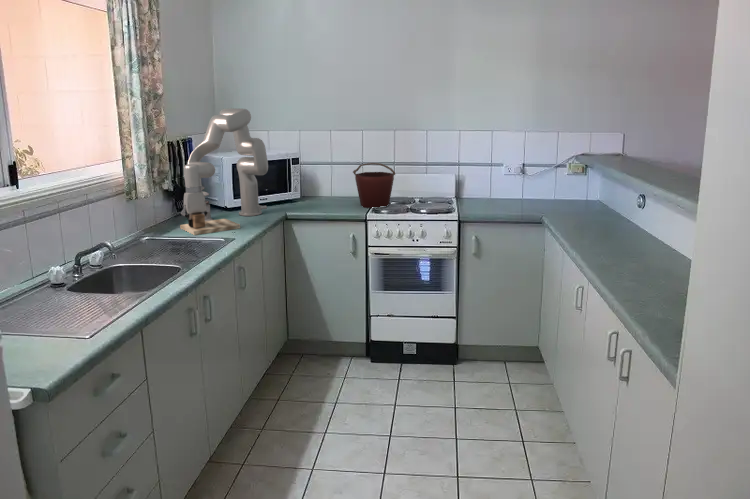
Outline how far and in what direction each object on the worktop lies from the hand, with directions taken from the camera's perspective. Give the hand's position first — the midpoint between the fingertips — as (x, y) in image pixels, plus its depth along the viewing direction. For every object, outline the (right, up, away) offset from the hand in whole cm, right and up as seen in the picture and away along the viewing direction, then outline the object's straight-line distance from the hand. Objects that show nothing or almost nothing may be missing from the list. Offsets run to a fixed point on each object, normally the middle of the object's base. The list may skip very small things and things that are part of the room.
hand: (196, 225), depth 309 cm
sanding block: (0, 0, 0) cm, 0 cm away
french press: (-5, +4, +25) cm, 26 cm away
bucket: (+88, +14, +61) cm, 108 cm away
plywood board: (+5, -1, +5) cm, 7 cm away
